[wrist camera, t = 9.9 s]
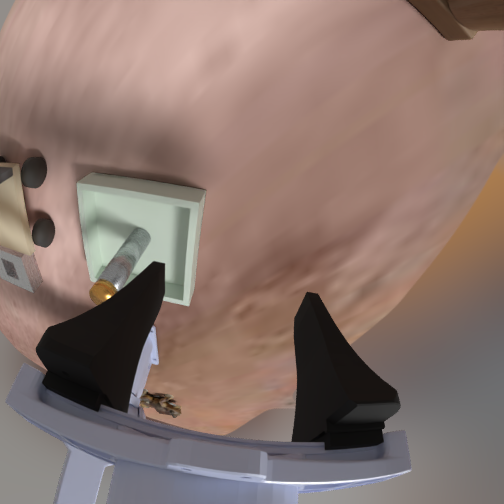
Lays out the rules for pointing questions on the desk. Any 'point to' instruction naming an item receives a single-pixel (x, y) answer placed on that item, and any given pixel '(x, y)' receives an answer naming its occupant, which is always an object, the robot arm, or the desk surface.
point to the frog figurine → (160, 404)
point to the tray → (143, 226)
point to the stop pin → (120, 266)
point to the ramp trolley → (22, 206)
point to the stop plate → (19, 269)
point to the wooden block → (462, 16)
